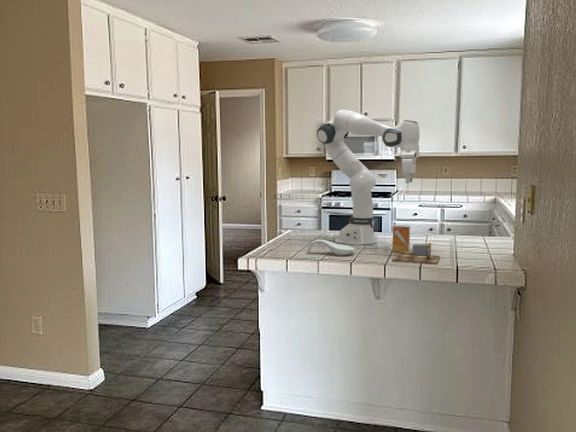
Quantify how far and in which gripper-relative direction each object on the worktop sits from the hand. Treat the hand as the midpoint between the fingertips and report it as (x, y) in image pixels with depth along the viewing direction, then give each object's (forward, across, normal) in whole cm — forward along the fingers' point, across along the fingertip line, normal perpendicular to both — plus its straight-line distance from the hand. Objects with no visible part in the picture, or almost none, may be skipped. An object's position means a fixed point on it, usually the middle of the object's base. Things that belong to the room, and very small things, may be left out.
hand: (409, 182), depth 253 cm
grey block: (+34, +13, +8) cm, 37 cm away
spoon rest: (+36, +13, -36) cm, 52 cm away
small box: (+35, -6, -4) cm, 36 cm away
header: (+35, +13, +6) cm, 38 cm away
